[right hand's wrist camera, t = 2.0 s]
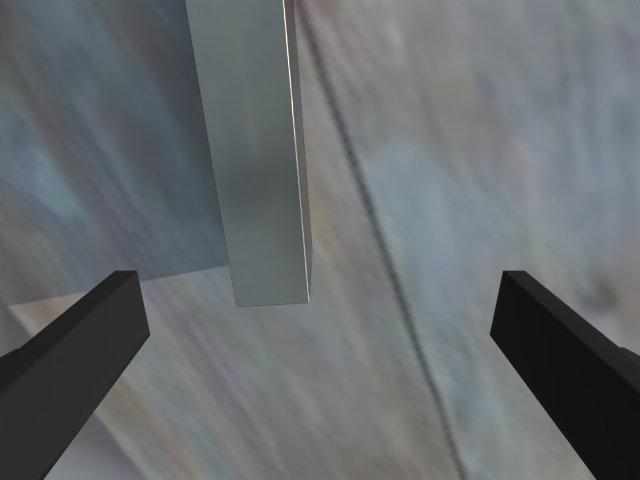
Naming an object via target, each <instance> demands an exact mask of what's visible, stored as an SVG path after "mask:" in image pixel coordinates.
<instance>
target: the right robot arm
mask: <svg viewBox="0 0 640 480" xmlns="http://www.w3.org/2000/svg"><path fill="white" fill-rule="evenodd" d="M149 336H150V331H149V327H148V322H147V317H146V312H145V307H144V303H143V298H142V293H141V288H140V283H139V279H138V274H137V271H114V272H113V273H112V274H111V275H109V276H108V277H107V278H106V279H105V280H103V281H102V282H101V283H100V284H98V285H97V286H96V287H95V288H93V289H92V290H91V291H90V292H89V293H87V294H86V295H85V296H84V297H82V298H81V299H80V300H79V301H77V302H76V303H75V304H74V305H72V306H71V307H70V308H69V309H68V310H66V311H65V312H64V313H63V314H61V315H60V316H59V317H58V318H56V319H55V320H54V321H53V322H52V323H50V324H49V325H48V326H47V327H45V328H44V329H43V330H42V331H40V332H39V333H38V334H37V335H35V336H34V337H33V338H32V339H31V340H29V341H28V342H27V343H26V344H24V345H23V346H22V347H21V348H19V349H15V350H13V351H11V352H10V353H8V354H6V355H4V356H2V357H0V480H44V478H45V477H46V475H47V474H48V473H49V472H50V470H51V469H52V467H53V466H54V465H55V463H56V462H57V461H58V459H59V458H60V457H61V455H62V454H63V453H64V451H65V450H66V448H67V447H68V446H69V444H70V443H71V442H72V440H73V439H74V438H75V436H76V435H77V434H78V432H79V431H80V429H81V428H82V427H83V425H84V424H85V423H86V421H87V420H88V419H89V417H90V416H91V415H92V413H93V412H94V411H95V409H96V408H97V406H98V405H99V404H100V402H101V401H102V400H103V398H104V397H105V396H106V394H107V393H108V392H109V390H110V389H111V387H112V386H113V385H114V383H115V382H116V381H117V379H118V378H119V377H120V375H121V374H122V373H123V371H124V370H125V369H126V367H127V366H128V364H129V363H130V362H131V360H132V359H133V358H134V356H135V355H136V354H137V352H138V351H139V350H140V348H141V347H142V345H143V344H144V343H145V341H146V340H147V339H148V337H149ZM490 336H491V337H492V339H493V340H494V341H495V343H496V344H497V345H498V347H499V348H500V350H501V351H502V352H503V354H504V355H505V356H506V358H507V359H508V360H509V362H510V363H511V364H512V366H513V367H514V369H515V370H516V371H517V373H518V374H519V375H520V377H521V378H522V379H523V381H524V382H525V383H526V385H527V386H528V387H529V389H530V390H531V392H532V393H533V394H534V396H535V397H536V398H537V400H538V401H539V402H540V404H541V405H542V406H543V408H544V409H545V411H546V412H547V413H548V415H549V416H550V417H551V419H552V420H553V421H554V423H555V424H556V425H557V427H558V428H559V430H560V431H561V432H562V434H563V435H564V436H565V438H566V439H567V440H568V442H569V443H570V444H571V446H572V447H573V448H574V450H575V451H576V453H577V454H578V455H579V457H580V458H581V459H582V461H583V462H584V463H585V465H586V466H587V467H588V469H589V470H590V472H591V473H592V474H593V476H594V477H595V478H596V480H640V356H639V355H637V354H635V353H633V352H631V351H630V350H628V349H626V348H619V347H618V346H617V345H616V344H614V343H613V342H612V341H611V340H609V339H608V338H607V337H606V336H604V335H603V334H602V333H601V332H600V331H598V330H597V329H596V328H595V327H593V326H592V325H591V324H590V323H588V322H587V321H586V320H585V319H584V318H582V317H581V316H580V315H579V314H577V313H576V312H575V311H574V310H572V309H571V308H570V307H569V306H568V305H566V304H565V303H564V302H563V301H561V300H560V299H559V298H558V297H556V296H555V295H554V294H553V293H551V292H550V291H549V290H548V289H547V288H545V287H544V286H543V285H542V284H540V283H539V282H538V281H537V280H535V279H534V278H533V277H532V276H531V275H529V274H528V273H527V272H526V271H503V274H502V279H501V283H500V288H499V293H498V298H497V303H496V307H495V312H494V317H493V322H492V327H491V331H490Z"/></svg>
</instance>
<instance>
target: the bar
mask: <svg viewBox="0 0 640 480" xmlns="http://www.w3.org/2000/svg"><path fill="white" fill-rule="evenodd" d="M185 6H186V12H187V18H188V24H189V30H190V36H191V42H192V48H193V53H194V59H195V65H196V71H197V77H198V83H199V89H200V95H201V101H202V107H203V112H204V118H205V124H206V130H207V136H208V142H209V148H210V154H211V160H212V166H213V171H214V177H215V183H216V189H217V195H218V201H219V207H220V213H221V219H222V225H223V230H224V236H225V242H226V248H227V254H228V260H229V266H230V272H231V278H232V284H233V290H234V295H235V301H236V306H237V307H245V306H264V305H282V304H300V303H309V302H310V284H311V265H312V239H311V226H310V213H309V200H308V186H307V173H306V160H305V147H304V134H303V121H302V108H301V95H300V82H299V69H298V56H297V43H296V30H295V16H294V3H293V0H185Z"/></svg>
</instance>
